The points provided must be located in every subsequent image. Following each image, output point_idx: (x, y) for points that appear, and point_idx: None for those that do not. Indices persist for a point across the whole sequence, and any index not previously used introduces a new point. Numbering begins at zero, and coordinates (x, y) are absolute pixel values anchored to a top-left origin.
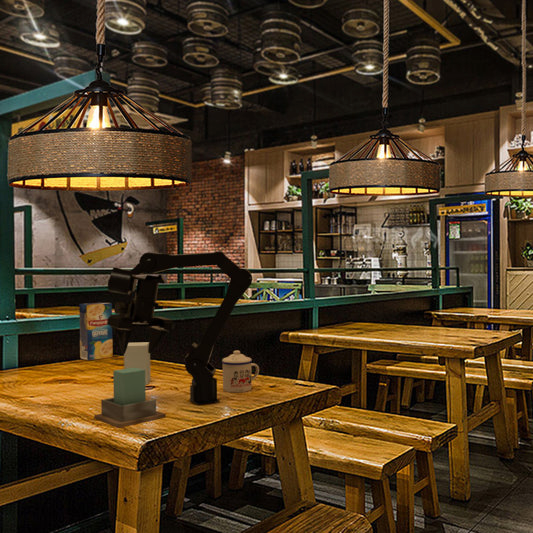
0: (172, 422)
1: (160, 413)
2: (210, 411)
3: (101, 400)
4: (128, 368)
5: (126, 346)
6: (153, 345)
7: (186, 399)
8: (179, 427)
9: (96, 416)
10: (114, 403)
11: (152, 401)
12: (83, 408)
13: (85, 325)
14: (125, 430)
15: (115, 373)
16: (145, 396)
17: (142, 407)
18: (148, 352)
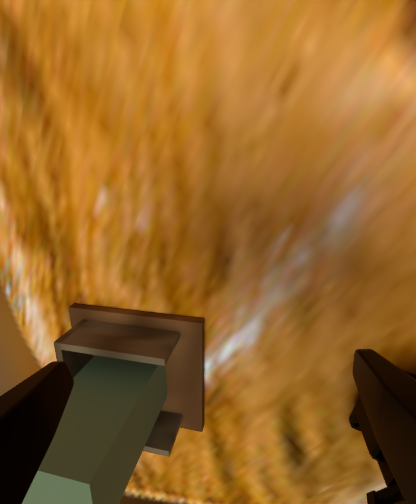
0: (191, 458)
1: (196, 419)
2: (319, 475)
3: (54, 342)
4: (59, 477)
5: (27, 473)
6: (402, 483)
7: (391, 340)
8: (180, 487)
9: (71, 317)
10: None
11: (159, 451)
12: (84, 182)
13: None
14: None
15: None
16: (147, 439)
17: None
18: (356, 353)
